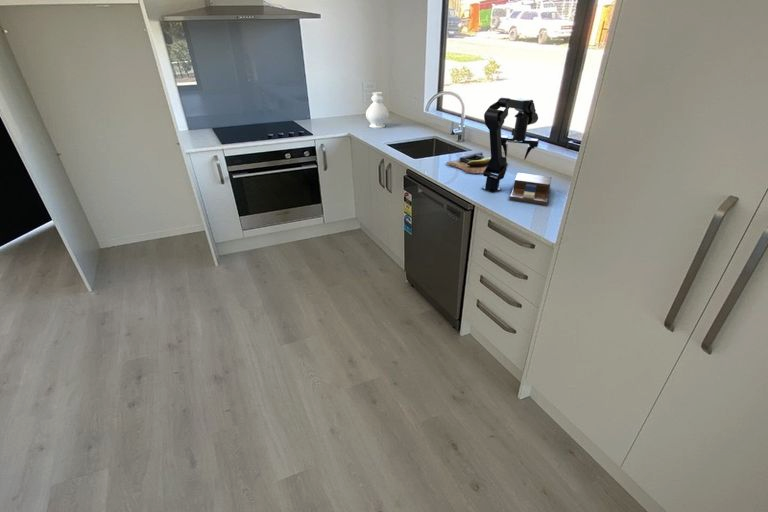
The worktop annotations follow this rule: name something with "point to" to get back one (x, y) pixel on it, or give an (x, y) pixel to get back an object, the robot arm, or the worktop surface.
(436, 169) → the worktop surface
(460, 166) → the cutting board
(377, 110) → the decorative vase
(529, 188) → the blue sleeved eraser
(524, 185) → the brown wooden cabinet
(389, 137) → the worktop surface
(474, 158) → the door handle
